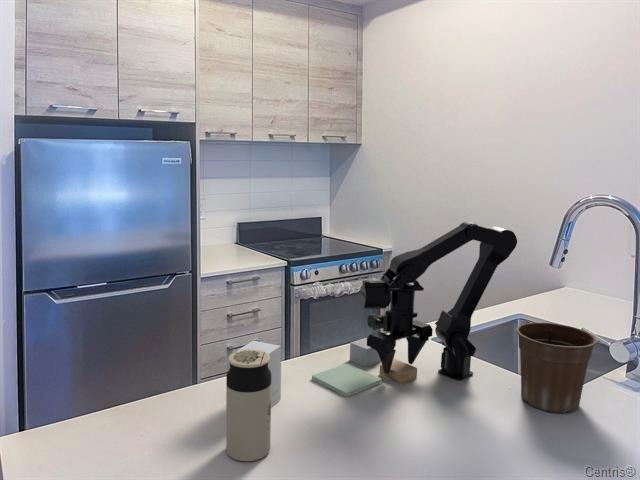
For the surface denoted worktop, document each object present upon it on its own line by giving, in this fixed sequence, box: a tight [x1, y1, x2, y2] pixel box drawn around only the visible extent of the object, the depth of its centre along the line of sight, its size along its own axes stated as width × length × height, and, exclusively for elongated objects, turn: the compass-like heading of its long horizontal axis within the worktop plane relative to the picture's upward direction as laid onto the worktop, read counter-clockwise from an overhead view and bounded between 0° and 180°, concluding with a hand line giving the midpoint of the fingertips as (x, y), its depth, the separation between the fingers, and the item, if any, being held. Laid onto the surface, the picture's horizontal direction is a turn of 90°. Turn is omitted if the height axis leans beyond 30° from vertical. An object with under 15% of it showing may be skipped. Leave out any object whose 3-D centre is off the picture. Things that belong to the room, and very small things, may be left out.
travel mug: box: [225, 350, 272, 462], centre depth 93 cm, size 8×8×18 cm
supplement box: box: [235, 340, 282, 408], centre depth 111 cm, size 7×7×13 cm
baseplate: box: [311, 363, 383, 398], centre depth 125 cm, size 12×12×1 cm
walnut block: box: [378, 358, 418, 385], centre depth 128 cm, size 7×6×3 cm
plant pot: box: [516, 322, 598, 414], centre depth 116 cm, size 16×16×16 cm
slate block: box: [349, 337, 381, 368], centre depth 137 cm, size 6×6×5 cm
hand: (398, 368), depth 128 cm, fingers open, 9 cm apart
